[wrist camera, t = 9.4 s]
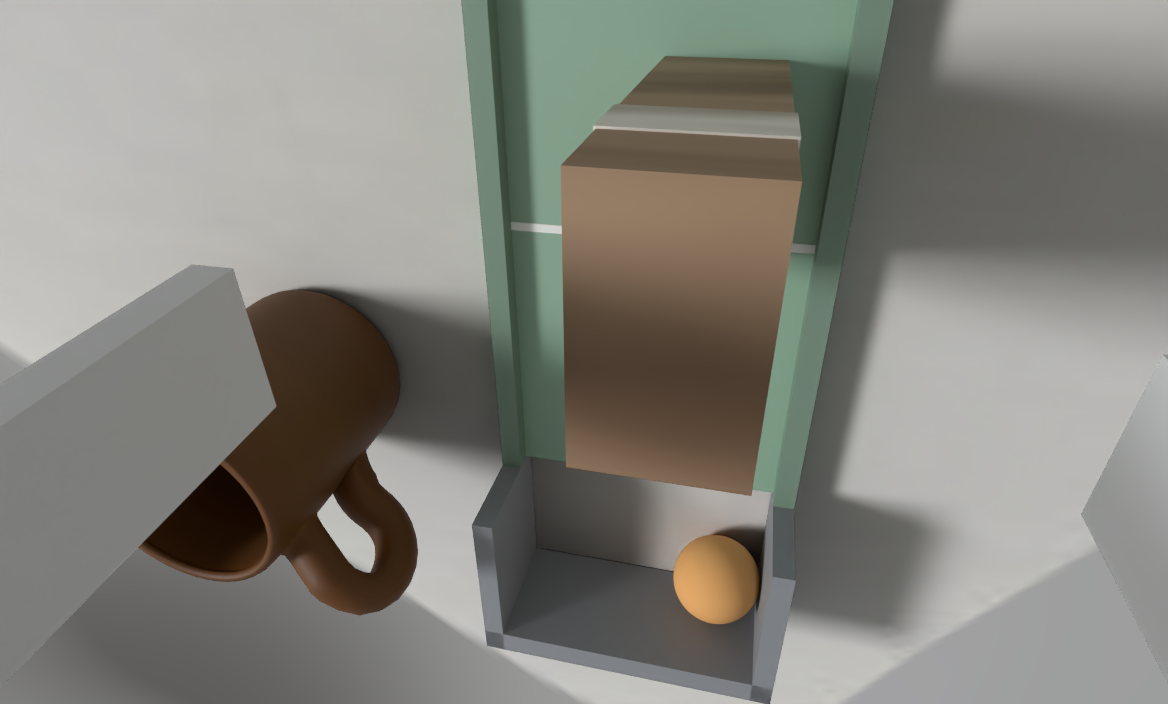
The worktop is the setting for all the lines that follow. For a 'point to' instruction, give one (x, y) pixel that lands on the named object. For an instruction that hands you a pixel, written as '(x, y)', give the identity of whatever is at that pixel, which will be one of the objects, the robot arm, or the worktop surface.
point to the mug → (303, 464)
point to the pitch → (535, 305)
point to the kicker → (679, 271)
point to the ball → (716, 579)
